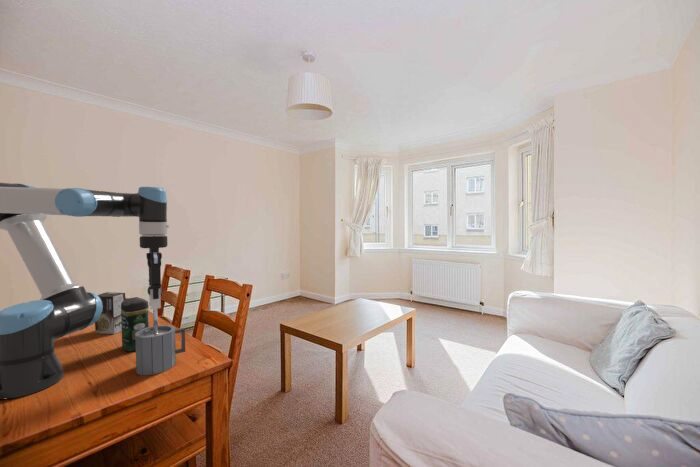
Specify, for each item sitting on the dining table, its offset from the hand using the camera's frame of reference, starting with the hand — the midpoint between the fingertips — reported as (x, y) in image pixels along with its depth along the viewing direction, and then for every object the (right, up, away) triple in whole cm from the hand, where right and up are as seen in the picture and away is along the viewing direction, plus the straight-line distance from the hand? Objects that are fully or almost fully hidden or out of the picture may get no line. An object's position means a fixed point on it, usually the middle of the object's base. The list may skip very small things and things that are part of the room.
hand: (155, 306), depth 97 cm
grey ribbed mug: (+1, -20, +2) cm, 20 cm away
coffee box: (-39, -18, +31) cm, 53 cm away
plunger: (0, -10, 0) cm, 10 cm away
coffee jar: (-18, -19, +16) cm, 30 cm away
